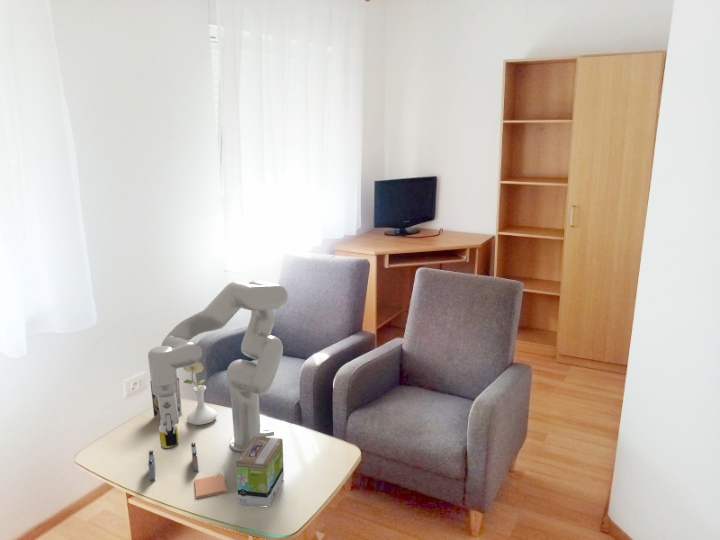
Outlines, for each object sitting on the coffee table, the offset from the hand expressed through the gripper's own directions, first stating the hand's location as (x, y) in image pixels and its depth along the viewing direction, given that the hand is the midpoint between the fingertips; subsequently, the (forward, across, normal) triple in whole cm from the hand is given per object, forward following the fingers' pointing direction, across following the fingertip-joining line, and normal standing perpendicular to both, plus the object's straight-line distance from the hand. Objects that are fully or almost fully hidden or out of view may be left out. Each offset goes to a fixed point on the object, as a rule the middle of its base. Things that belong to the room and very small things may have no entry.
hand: (171, 439), depth 171 cm
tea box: (+16, -14, -25) cm, 33 cm away
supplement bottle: (+3, 0, +1) cm, 3 cm away
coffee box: (+16, +48, +2) cm, 51 cm away
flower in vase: (+16, +40, -10) cm, 44 cm away
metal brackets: (+16, +8, +1) cm, 18 cm away
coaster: (+16, -6, -10) cm, 20 cm away
